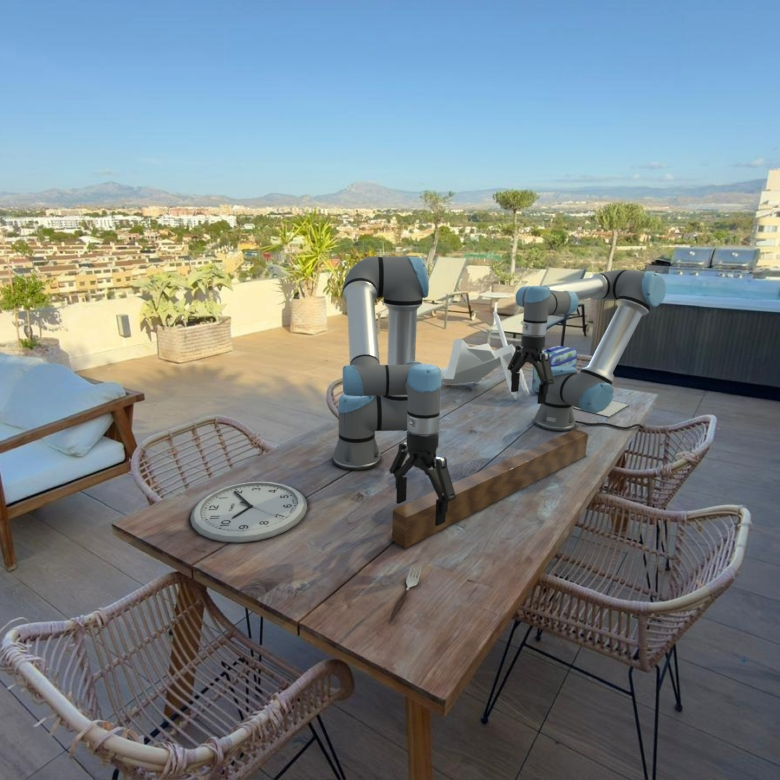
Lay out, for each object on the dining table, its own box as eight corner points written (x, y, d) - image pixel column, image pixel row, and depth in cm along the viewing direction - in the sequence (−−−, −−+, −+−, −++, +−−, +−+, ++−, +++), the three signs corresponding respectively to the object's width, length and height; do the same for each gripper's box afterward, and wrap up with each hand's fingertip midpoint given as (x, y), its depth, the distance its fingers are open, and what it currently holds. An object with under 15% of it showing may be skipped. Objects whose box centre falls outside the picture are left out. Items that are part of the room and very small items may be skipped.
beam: (572, 451, 180) (575, 429, 178) (585, 456, 177) (588, 433, 174) (391, 539, 128) (392, 509, 125) (404, 548, 124) (405, 517, 122)
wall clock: (302, 534, 126) (174, 538, 123) (303, 540, 126) (175, 544, 124) (310, 477, 154) (206, 479, 152) (310, 482, 155) (206, 484, 152)
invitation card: (608, 416, 214) (573, 407, 224) (608, 416, 214) (573, 408, 224) (628, 404, 229) (594, 396, 238) (628, 405, 229) (594, 397, 238)
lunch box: (548, 399, 235) (554, 353, 228) (527, 393, 242) (532, 349, 236) (576, 387, 252) (581, 345, 246) (555, 383, 259) (560, 341, 253)
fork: (385, 619, 101) (385, 611, 101) (410, 571, 116) (411, 563, 115) (398, 623, 100) (398, 614, 100) (422, 574, 115) (422, 566, 114)
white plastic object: (461, 429, 252) (437, 405, 227) (444, 352, 274) (420, 323, 250) (535, 404, 240) (518, 377, 215) (510, 326, 262) (492, 293, 237)
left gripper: (376, 420, 129) (375, 498, 135) (451, 451, 111) (447, 539, 117) (398, 414, 133) (397, 489, 139) (474, 442, 115) (469, 527, 121)
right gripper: (500, 328, 178) (495, 388, 185) (551, 343, 157) (544, 410, 163) (517, 327, 181) (512, 385, 188) (570, 341, 160) (562, 406, 166)
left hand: (420, 512), depth 128 cm, fingers open, 13 cm apart
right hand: (527, 397), depth 175 cm, fingers open, 13 cm apart
